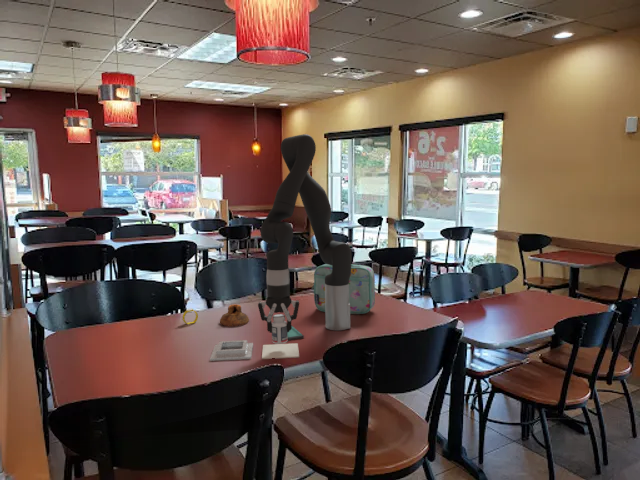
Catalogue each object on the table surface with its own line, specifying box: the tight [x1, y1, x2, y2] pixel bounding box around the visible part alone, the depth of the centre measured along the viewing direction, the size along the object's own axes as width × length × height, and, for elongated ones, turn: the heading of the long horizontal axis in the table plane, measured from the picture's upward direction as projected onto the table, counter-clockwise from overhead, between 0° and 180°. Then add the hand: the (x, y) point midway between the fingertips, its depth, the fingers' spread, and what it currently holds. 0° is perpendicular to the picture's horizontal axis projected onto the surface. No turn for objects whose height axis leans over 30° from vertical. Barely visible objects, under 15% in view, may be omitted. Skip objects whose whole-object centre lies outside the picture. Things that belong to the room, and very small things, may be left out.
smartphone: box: [287, 324, 305, 342], centre depth 180 cm, size 7×1×15 cm
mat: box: [261, 342, 300, 360], centre depth 162 cm, size 12×12×1 cm
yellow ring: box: [182, 307, 199, 325], centre depth 194 cm, size 6×3×6 cm, turn 127°
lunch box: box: [311, 263, 376, 315], centre depth 206 cm, size 27×10×21 cm, turn 73°
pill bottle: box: [271, 313, 289, 344], centre depth 161 cm, size 5×5×9 cm
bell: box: [219, 303, 250, 328], centre depth 195 cm, size 12×12×7 cm
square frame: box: [209, 339, 254, 362], centre depth 162 cm, size 13×13×2 cm
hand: (279, 331), depth 161 cm, fingers closed on pill bottle, 5 cm apart
